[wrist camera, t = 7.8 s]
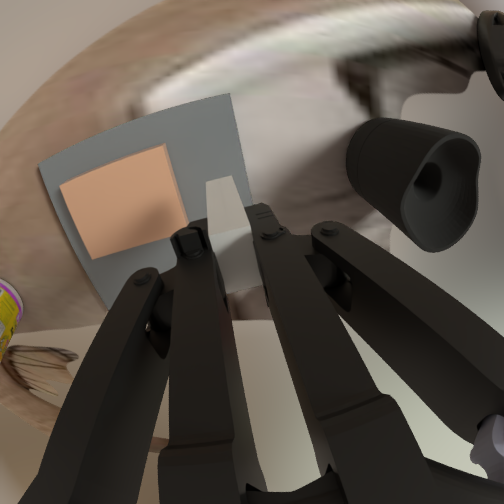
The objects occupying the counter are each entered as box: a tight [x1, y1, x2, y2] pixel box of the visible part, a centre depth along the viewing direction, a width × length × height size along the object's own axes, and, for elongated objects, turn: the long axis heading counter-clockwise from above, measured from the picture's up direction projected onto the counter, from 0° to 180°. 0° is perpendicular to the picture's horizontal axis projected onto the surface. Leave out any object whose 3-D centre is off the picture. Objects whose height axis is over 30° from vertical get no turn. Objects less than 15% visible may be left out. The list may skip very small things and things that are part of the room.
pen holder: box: [346, 118, 481, 253], centre depth 20 cm, size 9×9×10 cm
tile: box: [59, 143, 189, 260], centre depth 20 cm, size 2×7×9 cm
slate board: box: [38, 93, 253, 310], centre depth 23 cm, size 17×17×1 cm
